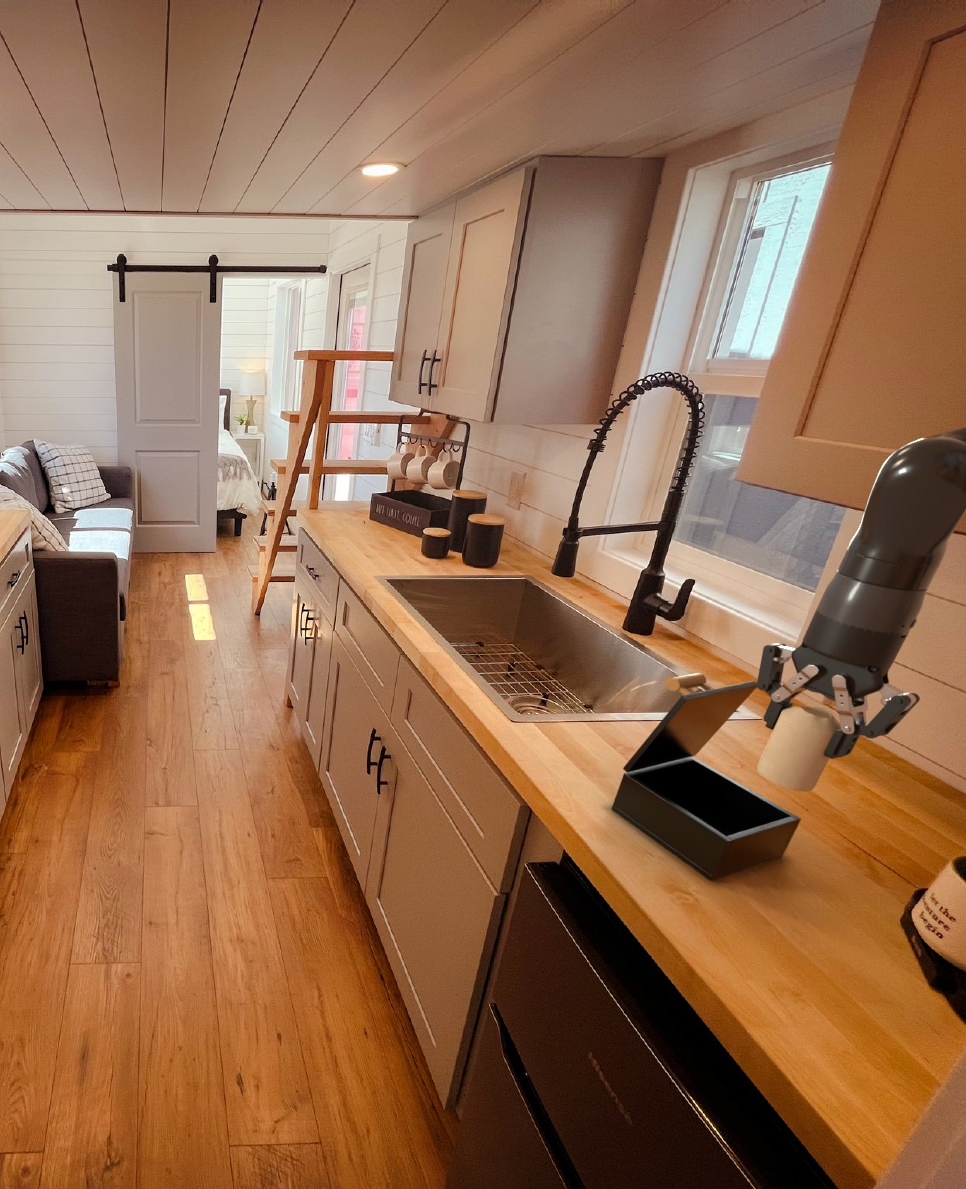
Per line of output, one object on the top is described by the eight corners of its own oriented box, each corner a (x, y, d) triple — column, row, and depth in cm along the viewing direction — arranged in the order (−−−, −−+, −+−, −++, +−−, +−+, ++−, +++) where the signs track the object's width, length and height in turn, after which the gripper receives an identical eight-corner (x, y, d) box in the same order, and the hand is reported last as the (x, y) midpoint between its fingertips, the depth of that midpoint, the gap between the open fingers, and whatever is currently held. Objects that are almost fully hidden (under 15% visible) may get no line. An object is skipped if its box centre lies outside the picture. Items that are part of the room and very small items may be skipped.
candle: (783, 763, 83) (815, 697, 79) (826, 791, 78) (862, 722, 74) (744, 764, 83) (774, 698, 79) (785, 793, 78) (819, 723, 74)
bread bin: (782, 857, 90) (801, 818, 87) (710, 881, 86) (728, 841, 83) (678, 791, 103) (692, 756, 100) (610, 809, 98) (623, 773, 96)
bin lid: (759, 684, 91) (723, 659, 95) (687, 699, 86) (652, 672, 90) (695, 755, 100) (665, 729, 104) (626, 772, 95) (598, 745, 99)
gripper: (768, 596, 77) (718, 715, 84) (930, 648, 65) (856, 784, 71) (807, 590, 79) (756, 706, 86) (971, 640, 67) (896, 771, 73)
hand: (802, 741), depth 78 cm, fingers closed on candle, 5 cm apart
